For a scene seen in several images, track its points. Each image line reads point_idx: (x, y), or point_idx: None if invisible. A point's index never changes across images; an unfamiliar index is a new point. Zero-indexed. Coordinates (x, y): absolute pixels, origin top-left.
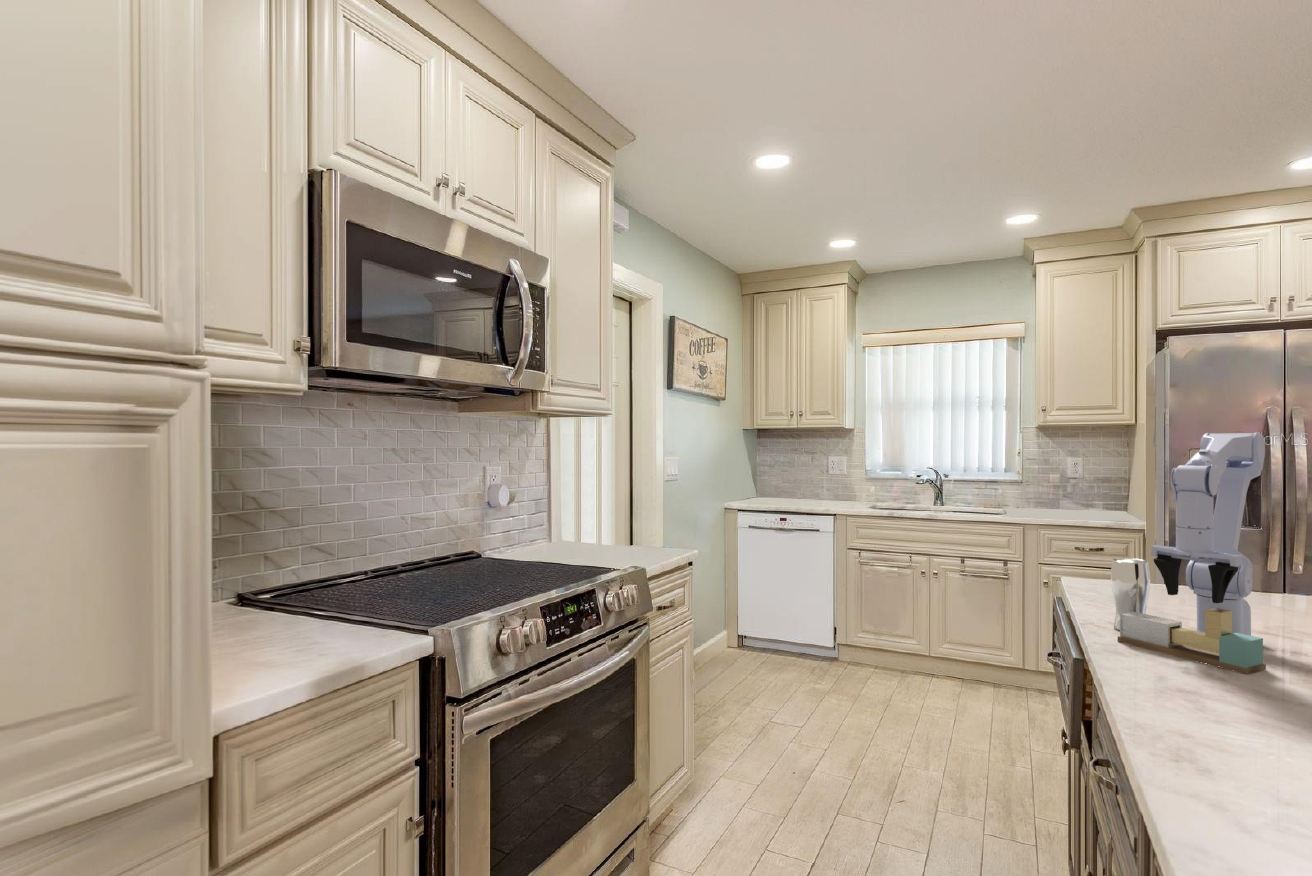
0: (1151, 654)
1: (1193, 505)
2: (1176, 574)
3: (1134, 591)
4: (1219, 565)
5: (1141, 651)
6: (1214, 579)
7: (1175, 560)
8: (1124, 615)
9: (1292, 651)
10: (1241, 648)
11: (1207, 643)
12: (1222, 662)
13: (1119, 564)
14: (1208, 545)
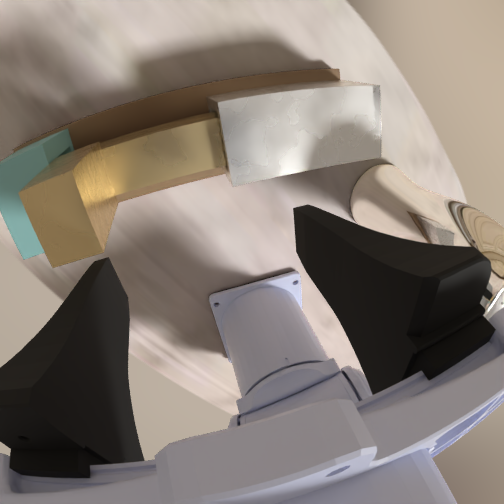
0: (211, 41)
1: None
2: (346, 316)
3: (433, 226)
4: (52, 449)
5: (242, 41)
6: (54, 338)
7: (392, 377)
8: (365, 85)
9: (162, 362)
10: (2, 161)
11: (104, 145)
12: (59, 129)
13: None
14: None
